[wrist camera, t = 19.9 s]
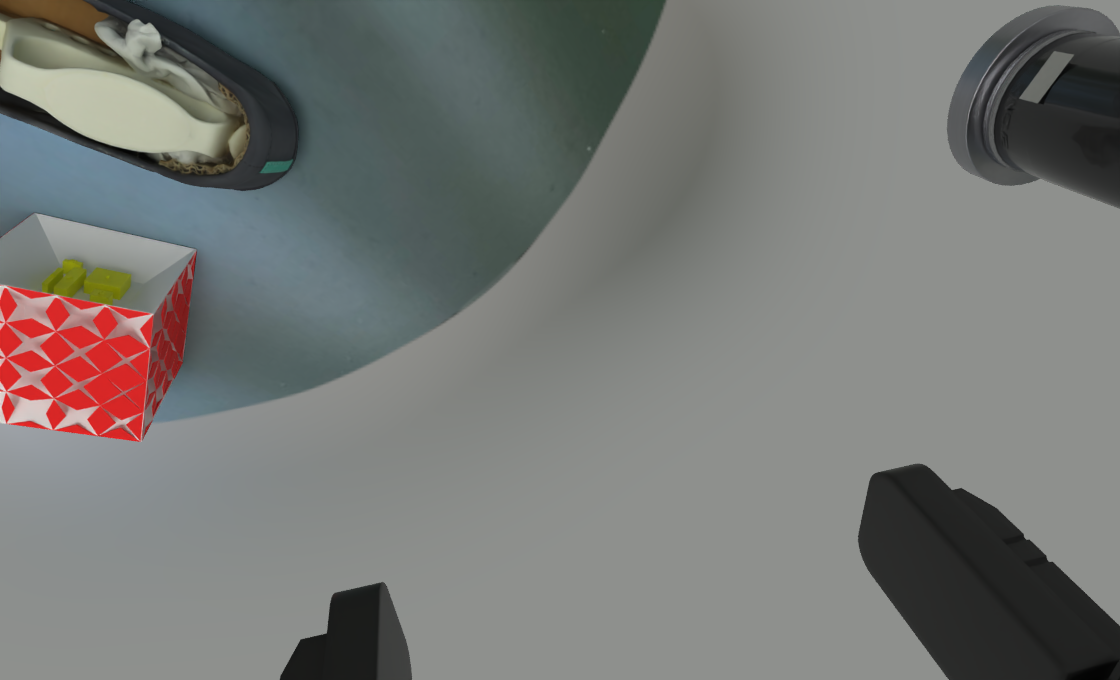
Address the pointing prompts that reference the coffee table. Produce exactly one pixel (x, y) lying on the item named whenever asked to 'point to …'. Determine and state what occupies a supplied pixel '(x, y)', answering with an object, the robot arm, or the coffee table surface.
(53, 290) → the red white cube box
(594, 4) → the coffee table surface
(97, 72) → the ballet flat
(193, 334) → the coffee table surface
